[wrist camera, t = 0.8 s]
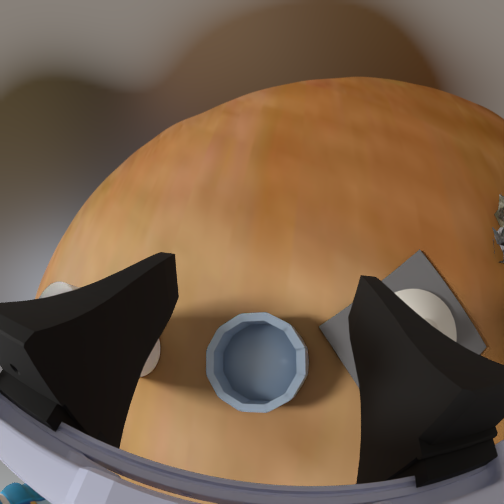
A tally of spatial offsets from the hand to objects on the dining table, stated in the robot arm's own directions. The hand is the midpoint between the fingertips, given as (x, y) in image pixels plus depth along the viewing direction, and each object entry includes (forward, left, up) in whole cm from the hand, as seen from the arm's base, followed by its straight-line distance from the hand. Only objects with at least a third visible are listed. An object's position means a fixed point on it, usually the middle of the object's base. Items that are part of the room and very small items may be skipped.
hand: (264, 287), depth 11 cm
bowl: (0, +5, -15) cm, 16 cm away
